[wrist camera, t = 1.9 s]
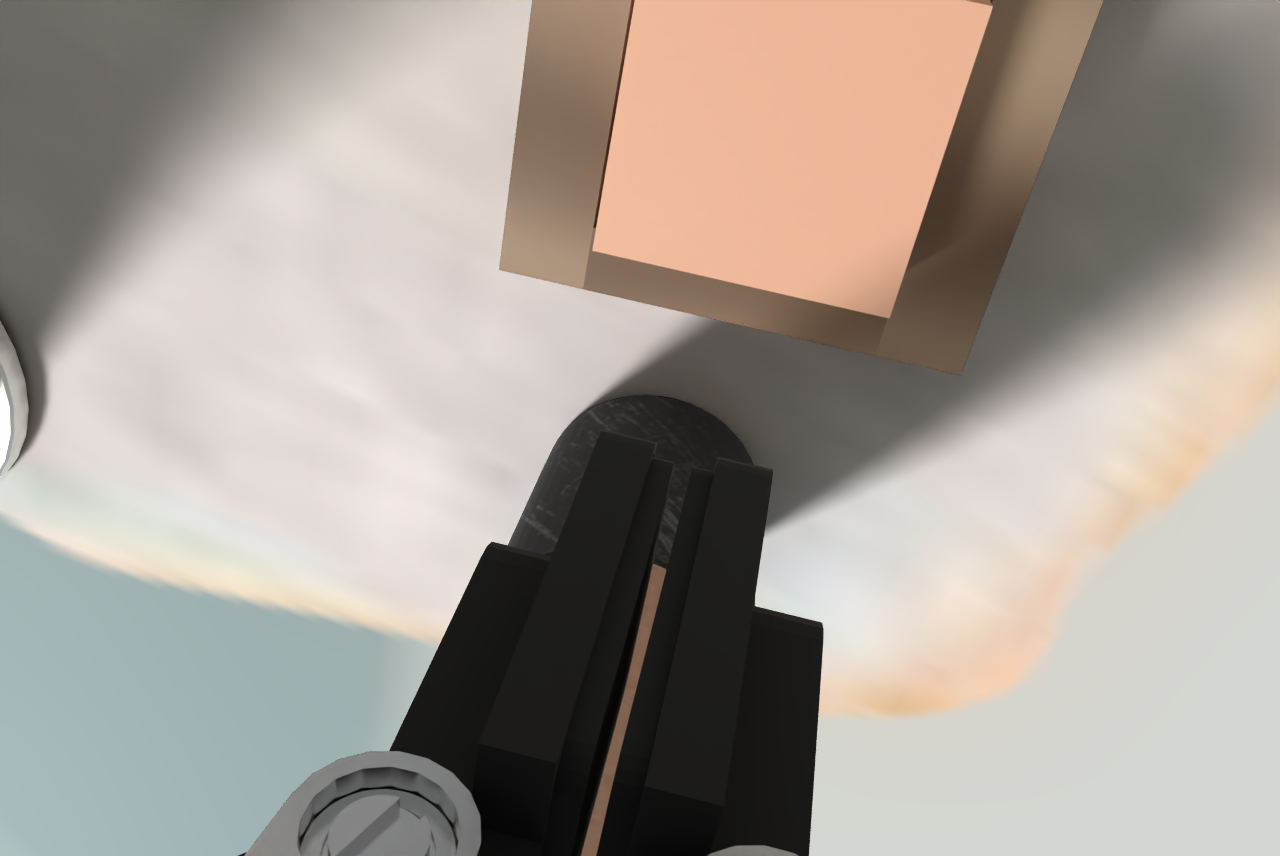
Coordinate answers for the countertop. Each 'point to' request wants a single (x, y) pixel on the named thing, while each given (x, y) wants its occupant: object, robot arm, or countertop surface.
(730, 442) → the travel mug
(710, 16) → the peach square block
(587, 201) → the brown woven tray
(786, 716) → the robot arm
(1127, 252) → the countertop surface
